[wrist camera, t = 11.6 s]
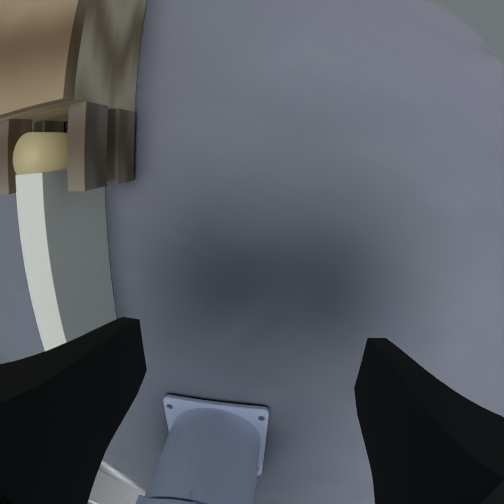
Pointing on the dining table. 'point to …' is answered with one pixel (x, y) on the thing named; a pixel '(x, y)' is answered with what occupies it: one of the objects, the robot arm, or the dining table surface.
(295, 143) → the dining table surface
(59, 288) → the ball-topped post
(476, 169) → the dining table surface
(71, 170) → the cabinet
